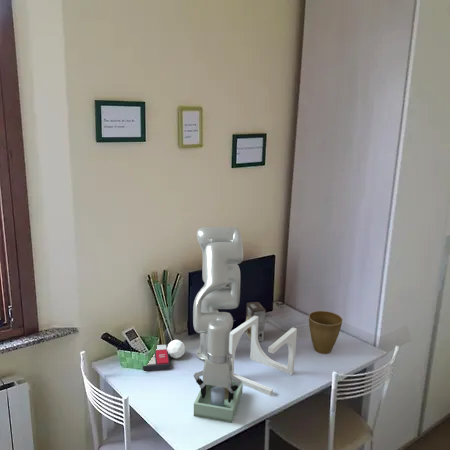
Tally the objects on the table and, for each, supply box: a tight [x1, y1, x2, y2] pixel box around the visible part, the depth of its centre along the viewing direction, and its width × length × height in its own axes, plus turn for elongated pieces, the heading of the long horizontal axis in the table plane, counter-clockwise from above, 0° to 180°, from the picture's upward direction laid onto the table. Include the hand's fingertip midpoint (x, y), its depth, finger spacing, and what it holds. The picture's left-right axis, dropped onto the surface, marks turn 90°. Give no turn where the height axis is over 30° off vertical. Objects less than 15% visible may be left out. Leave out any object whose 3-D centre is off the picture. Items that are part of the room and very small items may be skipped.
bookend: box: [229, 315, 298, 397], centre depth 190 cm, size 20×20×20 cm
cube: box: [214, 386, 229, 399], centre depth 176 cm, size 5×5×5 cm
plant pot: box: [308, 310, 344, 355], centre depth 211 cm, size 15×15×16 cm
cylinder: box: [210, 386, 225, 407], centre depth 168 cm, size 5×5×7 cm
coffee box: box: [244, 301, 267, 342], centre depth 221 cm, size 9×6×16 cm
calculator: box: [142, 344, 171, 372], centre depth 200 cm, size 11×4×15 cm
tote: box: [193, 381, 244, 424], centre depth 172 cm, size 18×14×5 cm
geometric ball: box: [167, 339, 186, 359], centre depth 203 cm, size 8×8×8 cm
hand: (216, 398), depth 168 cm, fingers open, 9 cm apart
